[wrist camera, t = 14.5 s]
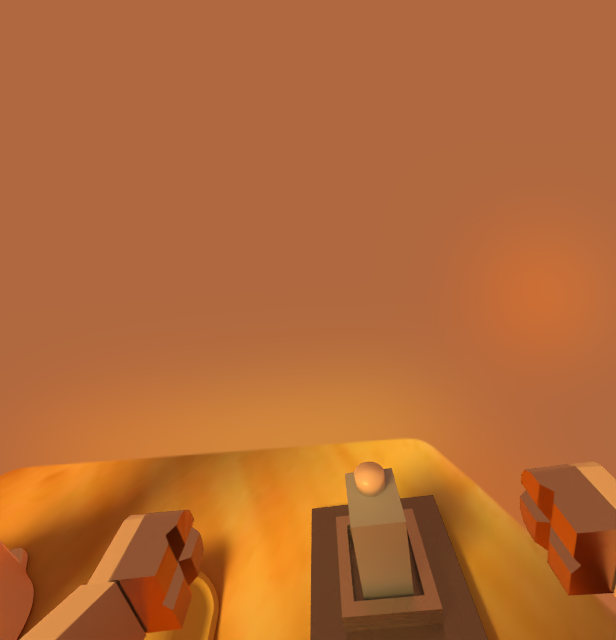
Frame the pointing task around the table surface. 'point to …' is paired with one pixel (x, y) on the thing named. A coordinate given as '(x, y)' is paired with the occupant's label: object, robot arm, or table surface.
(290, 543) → the table surface
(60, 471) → the table surface
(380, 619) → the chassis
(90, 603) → the robot arm
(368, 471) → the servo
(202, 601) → the plastic component
